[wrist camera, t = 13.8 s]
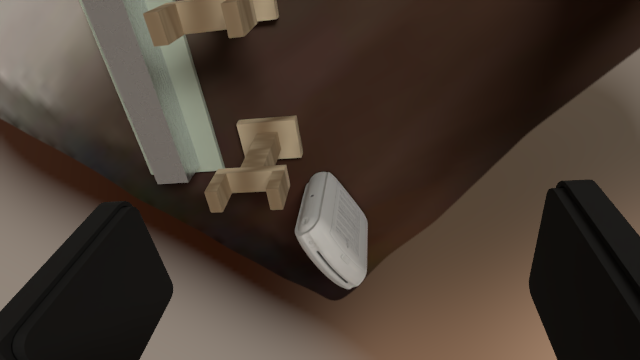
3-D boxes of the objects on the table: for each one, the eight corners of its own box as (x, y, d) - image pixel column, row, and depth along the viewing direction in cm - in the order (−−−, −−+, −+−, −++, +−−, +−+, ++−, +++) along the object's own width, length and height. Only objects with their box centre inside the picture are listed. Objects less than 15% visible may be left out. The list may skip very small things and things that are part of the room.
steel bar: (136, -25, 40) (115, -20, 37) (200, 165, 52) (188, 182, 49) (99, -20, 41) (76, -14, 38) (171, 167, 53) (157, 184, 49)
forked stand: (270, -39, 39) (232, -19, 28) (303, 152, 50) (285, 220, 39) (199, -29, 40) (136, -6, 29) (247, 156, 51) (214, 222, 40)
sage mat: (162, -41, 40) (160, -41, 39) (225, 168, 53) (223, 170, 52) (71, -28, 41) (67, -27, 41) (153, 172, 54) (151, 174, 54)
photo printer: (301, 180, 53) (284, 245, 42) (328, 164, 51) (318, 229, 41) (345, 232, 57) (340, 303, 46) (372, 220, 55) (372, 291, 45)
